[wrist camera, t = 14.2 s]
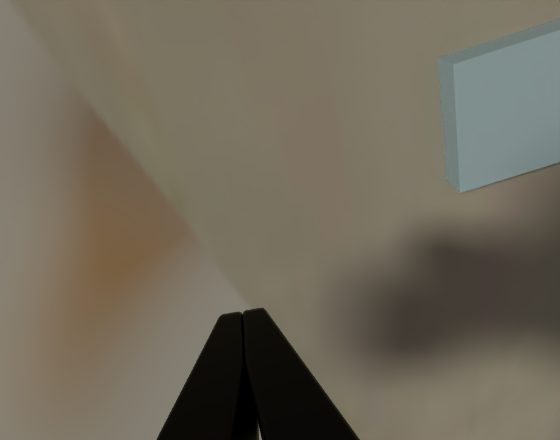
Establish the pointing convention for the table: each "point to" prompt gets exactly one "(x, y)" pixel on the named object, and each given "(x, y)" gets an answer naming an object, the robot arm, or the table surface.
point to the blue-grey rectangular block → (501, 107)
